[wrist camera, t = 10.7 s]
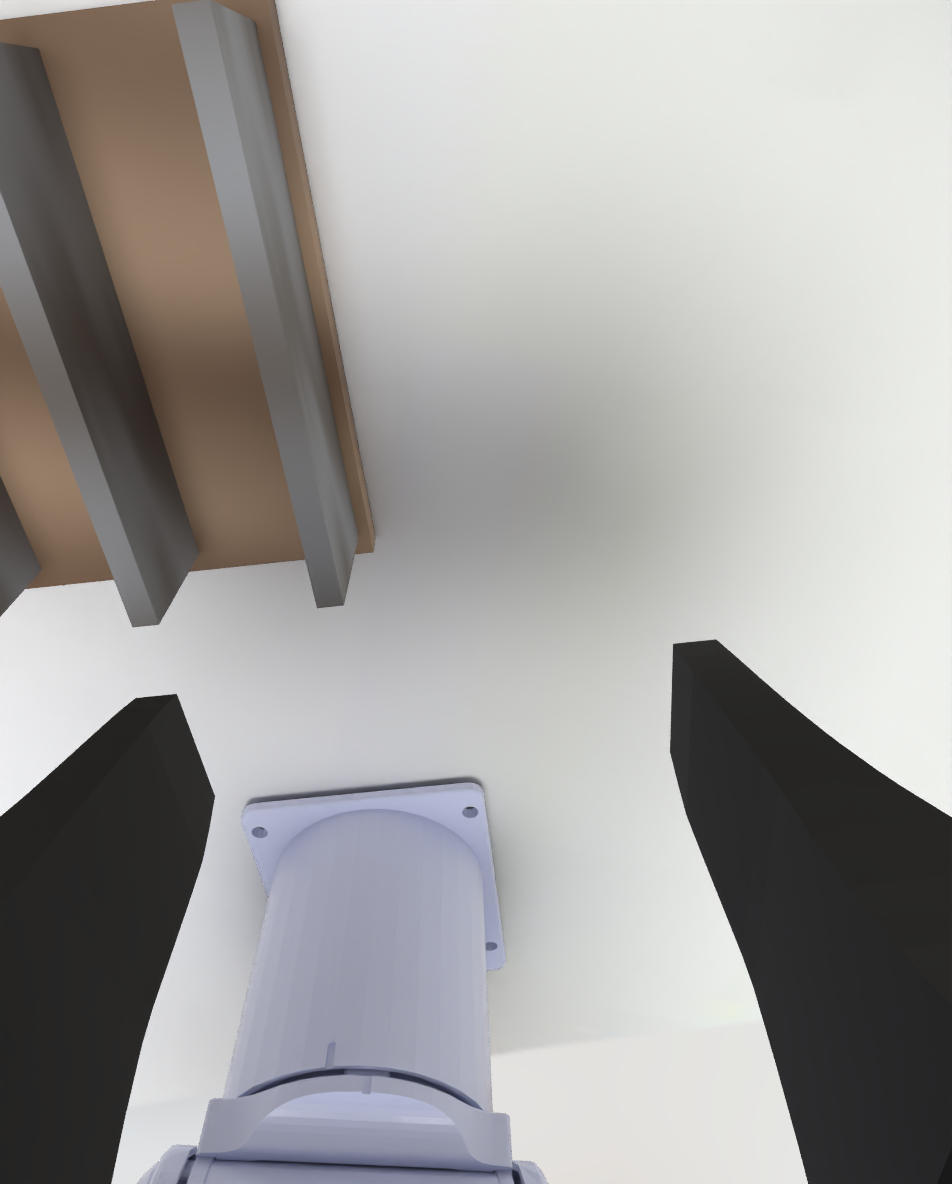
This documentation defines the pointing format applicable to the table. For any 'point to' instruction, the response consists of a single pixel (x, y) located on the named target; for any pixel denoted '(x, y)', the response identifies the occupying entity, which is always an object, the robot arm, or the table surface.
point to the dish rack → (165, 311)
